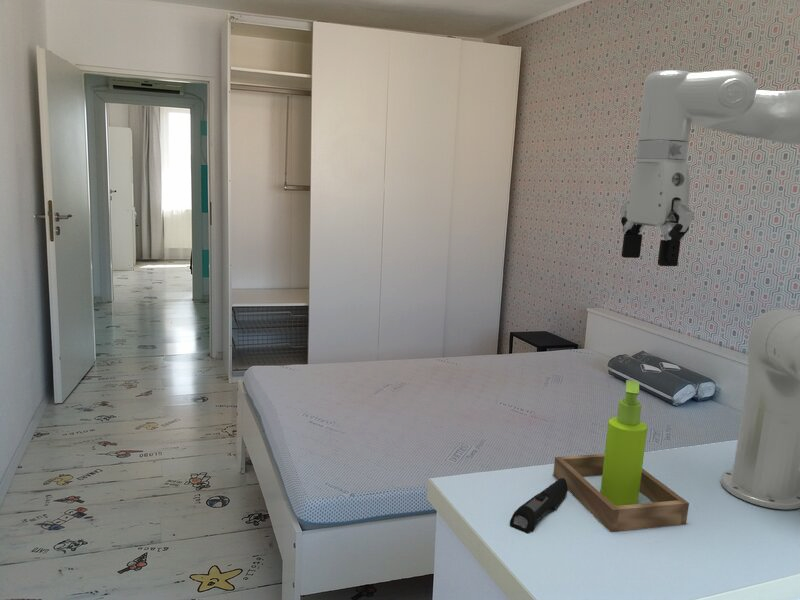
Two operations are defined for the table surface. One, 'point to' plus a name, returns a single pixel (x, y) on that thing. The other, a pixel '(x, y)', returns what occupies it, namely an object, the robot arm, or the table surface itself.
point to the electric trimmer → (538, 506)
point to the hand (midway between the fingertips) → (648, 261)
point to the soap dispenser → (624, 450)
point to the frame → (626, 517)
